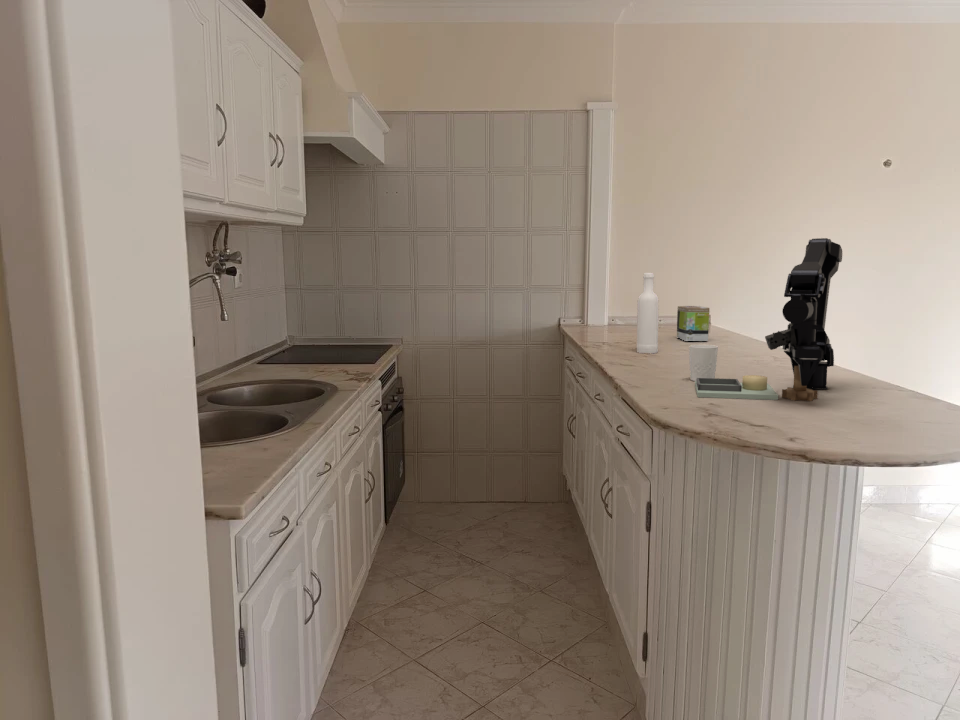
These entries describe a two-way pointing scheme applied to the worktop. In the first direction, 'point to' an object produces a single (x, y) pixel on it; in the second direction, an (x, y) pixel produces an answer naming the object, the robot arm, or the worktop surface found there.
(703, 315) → the tea box
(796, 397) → the planet gear
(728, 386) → the carrier plate
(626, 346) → the worktop surface
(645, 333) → the bottle
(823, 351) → the robot arm
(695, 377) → the white cup
